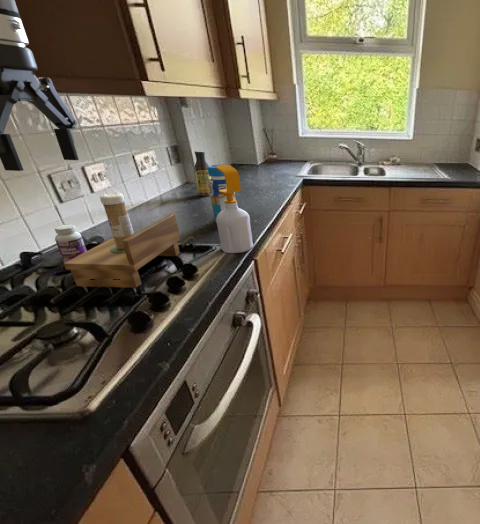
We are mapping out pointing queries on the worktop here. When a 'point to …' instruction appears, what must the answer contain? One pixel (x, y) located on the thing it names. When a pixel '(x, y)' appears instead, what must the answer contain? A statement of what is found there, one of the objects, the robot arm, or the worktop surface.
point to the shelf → (125, 256)
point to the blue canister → (217, 189)
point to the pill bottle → (69, 242)
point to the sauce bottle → (202, 174)
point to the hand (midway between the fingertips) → (45, 164)
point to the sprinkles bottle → (117, 217)
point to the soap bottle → (233, 216)
